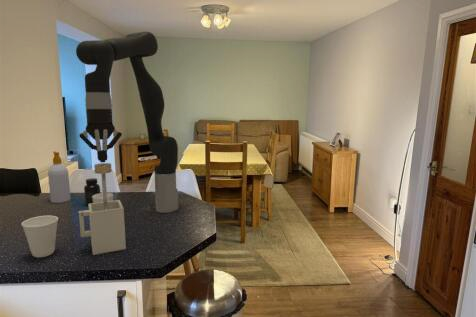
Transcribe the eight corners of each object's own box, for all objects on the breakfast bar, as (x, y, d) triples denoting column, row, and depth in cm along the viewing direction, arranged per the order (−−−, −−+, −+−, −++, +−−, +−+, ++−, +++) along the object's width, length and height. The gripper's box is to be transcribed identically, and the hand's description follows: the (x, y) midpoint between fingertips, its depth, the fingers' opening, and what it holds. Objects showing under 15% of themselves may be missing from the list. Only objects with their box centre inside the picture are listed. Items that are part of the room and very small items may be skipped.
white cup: (107, 222, 130) (105, 198, 128) (89, 221, 132) (87, 197, 130) (118, 216, 138) (116, 193, 136) (101, 214, 139) (99, 192, 137)
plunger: (117, 214, 113) (114, 161, 110) (120, 221, 106) (116, 165, 103) (93, 217, 110) (89, 163, 106) (94, 225, 103) (90, 167, 100)
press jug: (121, 237, 116) (119, 199, 114) (125, 248, 107) (123, 208, 105) (81, 244, 110) (78, 204, 108) (82, 257, 102) (78, 214, 99)
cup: (35, 247, 108) (32, 215, 106) (66, 246, 109) (63, 214, 107) (18, 261, 98) (14, 227, 97) (52, 260, 99) (49, 226, 97)
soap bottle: (67, 196, 165) (63, 150, 161) (73, 200, 158) (68, 152, 154) (48, 199, 159) (43, 151, 155) (53, 204, 152) (48, 154, 148)
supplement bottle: (104, 203, 155) (102, 178, 152) (91, 207, 149) (89, 181, 147) (95, 201, 158) (93, 177, 156) (82, 204, 152) (80, 179, 150)
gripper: (119, 107, 108) (122, 158, 111) (75, 107, 102) (79, 161, 105) (122, 107, 101) (125, 162, 104) (75, 107, 95) (80, 165, 98)
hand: (102, 161), depth 105 cm, fingers closed
